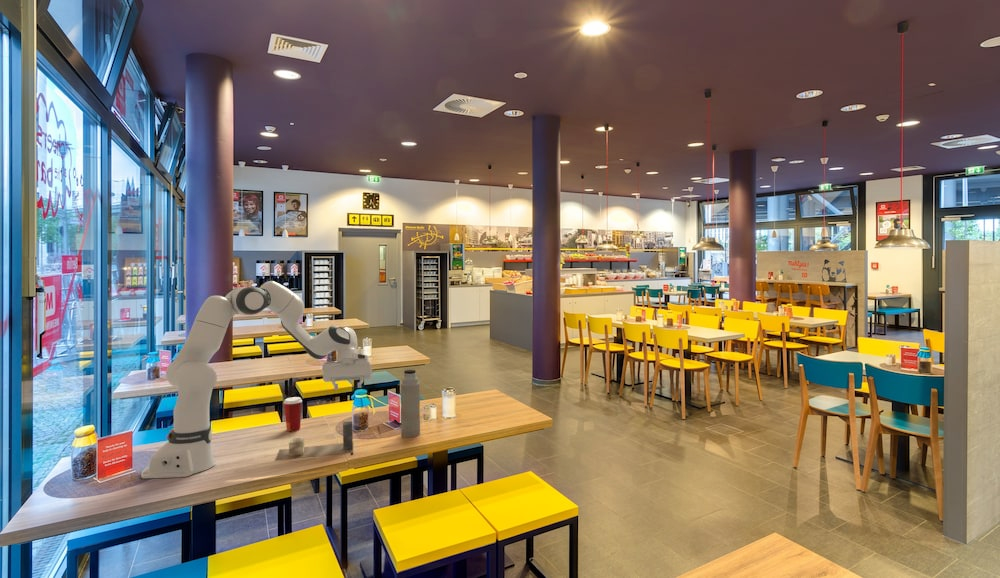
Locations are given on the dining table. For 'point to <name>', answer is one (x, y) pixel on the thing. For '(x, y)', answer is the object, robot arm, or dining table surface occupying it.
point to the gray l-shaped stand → (324, 447)
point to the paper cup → (293, 413)
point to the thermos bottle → (410, 404)
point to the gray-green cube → (296, 446)
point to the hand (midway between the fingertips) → (347, 387)
